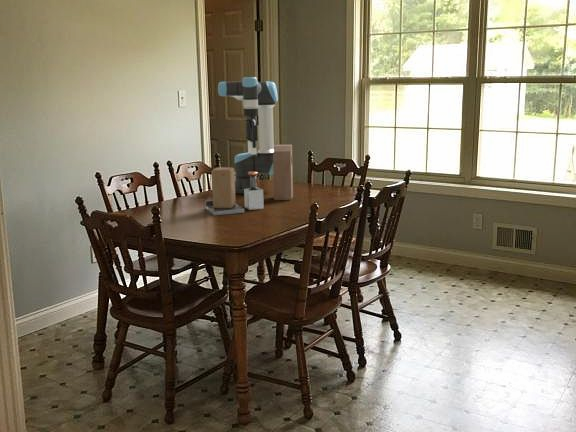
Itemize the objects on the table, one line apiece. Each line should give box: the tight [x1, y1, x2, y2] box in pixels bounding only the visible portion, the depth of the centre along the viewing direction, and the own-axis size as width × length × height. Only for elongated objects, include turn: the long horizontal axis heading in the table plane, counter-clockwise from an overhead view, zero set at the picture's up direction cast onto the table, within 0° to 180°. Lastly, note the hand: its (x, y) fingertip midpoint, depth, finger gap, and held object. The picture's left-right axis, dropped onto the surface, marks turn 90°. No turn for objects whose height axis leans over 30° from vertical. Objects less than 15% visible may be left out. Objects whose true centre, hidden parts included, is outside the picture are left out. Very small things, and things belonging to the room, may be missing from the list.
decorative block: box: [272, 144, 294, 201], centre depth 357 cm, size 10×10×30 cm
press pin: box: [248, 172, 259, 190], centre depth 333 cm, size 5×5×11 cm
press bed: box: [204, 199, 245, 216], centre depth 330 cm, size 18×16×4 cm
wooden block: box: [211, 167, 237, 208], centre depth 328 cm, size 10×10×20 cm
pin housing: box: [243, 186, 265, 211], centre depth 334 cm, size 8×8×10 cm
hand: (252, 153), depth 329 cm, fingers open, 5 cm apart
